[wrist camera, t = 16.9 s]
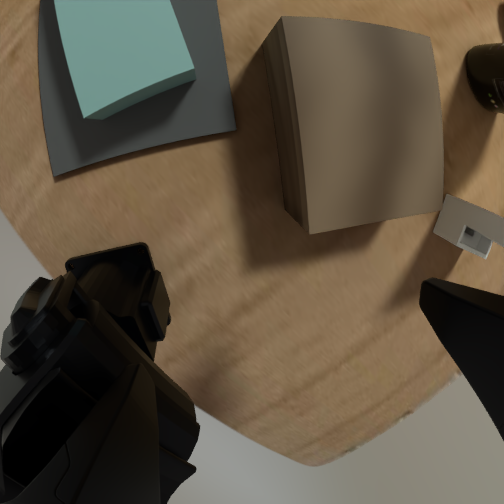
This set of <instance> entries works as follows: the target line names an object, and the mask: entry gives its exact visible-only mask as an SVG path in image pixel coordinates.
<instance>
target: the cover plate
mask: <svg viewBox="0 0 504 504" xmlns="http://www.w3.org/2000/svg"><path fill="white" fill-rule="evenodd" d="M54 3H55V9H56V14H57V20H58V25H59V30H60V34H61V39H62V43H63V48H64V52H65V56H66V60H67V64H68V67H69V71H70V75H71V78H72V82H73V85H74V89H75V92H76V95H77V99H78V102H79V105H80V108H81V111H82V114H83V117H84V118H88V119H100V120H103V119H105V118H107V117H109V116H111V115H113V114H115V113H117V112H119V111H121V110H123V109H125V108H127V107H129V106H132V105H134V104H136V103H138V102H140V101H143V100H145V99H147V98H149V97H152V96H154V95H156V94H159V93H161V92H164V91H166V90H169V89H171V88H174V87H177V86H179V85H182V84H185V83H187V82H190V81H193V80H196V74H195V68H194V65H193V63H192V60H191V57H190V54H189V51H188V49H187V46H186V43H185V40H184V38H183V35H182V32H181V29H180V27H179V24H178V21H177V18H176V16H175V13H174V10H173V8H172V5H171V2H170V0H54Z"/></svg>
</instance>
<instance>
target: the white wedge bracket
mask: <svg viewBox="0 0 504 504" xmlns="http://www.w3.org/2000/svg"><path fill="white" fill-rule="evenodd" d="M433 233H435V234H436V235H438V236H440V237H442V238H443V239H445V240H447V241H449V242H450V243H452V244H454V245H455V246H457V247H460V248H462V249H464V250H467V251H469V252H471V253H473V254H476V255H478V256H480V257H482V258H484V259H486V258H487V256H488V253H489V251H490V248H491V246H492V243H493V241H494V242H495V243H497V244H499V245H501V246H502V247H504V218H503V217H501V216H499V215H497V214H495V213H492V212H490V211H488V210H486V209H483V208H481V207H479V206H476V205H474V204H472V203H469V202H467V201H464V200H462V199H459V198H457V197H454V196H452V195H449V194H446V197H445V200H444V203H443V205H442V210H441V211H440V214H439V217H438V219H437V222H436V225H435V227H434V230H433Z"/></svg>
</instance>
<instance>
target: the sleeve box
mask: <svg viewBox="0 0 504 504" xmlns="http://www.w3.org/2000/svg"><path fill="white" fill-rule="evenodd" d="M262 46H263V51H264V57H265V64H266V70H267V76H268V83H269V89H270V96H271V103H272V110H273V117H274V124H275V131H276V139H277V146H278V154H279V162H280V170H281V178H282V187H283V196H284V205H285V210H286V211H287V212H288V213H289V214H290V215H291V216H292V217H293V218H294V219H295V220H296V221H297V222H298V223H299V224H300V225H301V226H302V227H303V228H304V229H305V230H306V231H307V232H308V233H309V234H315V233H320V232H326V231H331V230H337V229H342V228H347V227H353V226H358V225H364V224H369V223H375V222H380V221H386V220H391V219H397V218H402V217H408V216H413V215H419V214H424V213H430V212H436V211H441V210H442V205H443V183H444V147H443V126H442V112H441V102H440V93H439V85H438V78H437V71H436V65H435V60H434V54H433V49H432V45H431V40H430V37H428V36H425V35H421V34H418V33H414V32H410V31H406V30H401V29H397V28H392V27H387V26H382V25H377V24H371V23H364V22H358V21H350V20H341V19H331V18H318V17H292V16H281V18H280V19H279V20H278V22H277V23H276V25H275V26H274V27H273V29H272V30H271V32H270V33H269V34H268V36H267V37H266V39H265V40H264V42H263V43H262Z"/></svg>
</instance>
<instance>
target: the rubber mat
mask: <svg viewBox="0 0 504 504" xmlns="http://www.w3.org/2000/svg"><path fill="white" fill-rule="evenodd" d="M170 2H171V5H172V8H173V10H174V13H175V16H176V18H177V21H178V24H179V27H180V29H181V32H182V35H183V38H184V40H185V43H186V46H187V49H188V51H189V54H190V57H191V60H192V63H193V65H194V68H195V74H196V80H193V81H190V82H187V83H185V84H182V85H179V86H177V87H174V88H171V89H169V90H166V91H164V92H161V93H159V94H156V95H154V96H152V97H149V98H147V99H145V100H143V101H140V102H138V103H136V104H134V105H132V106H129V107H127V108H125V109H123V110H121V111H119V112H117V113H115V114H113V115H111V116H109V117H107V118H105V119H103V120H100V119H88V118H84V117H83V114H82V111H81V108H80V105H79V102H78V99H77V95H76V92H75V89H74V85H73V82H72V78H71V75H70V71H69V67H68V64H67V60H66V56H65V52H64V48H63V43H62V39H61V34H60V30H59V25H58V20H57V14H56V9H55V3H54V0H41V1H40V13H39V34H38V60H39V81H40V94H41V104H42V113H43V121H44V128H45V134H46V141H47V146H48V152H49V157H50V162H51V167H52V171H53V176H54V177H55V176H57V175H60V174H63V173H65V172H68V171H71V170H74V169H77V168H80V167H83V166H86V165H89V164H92V163H95V162H99V161H102V160H105V159H108V158H112V157H115V156H119V155H122V154H126V153H130V152H133V151H137V150H141V149H145V148H149V147H153V146H157V145H161V144H166V143H170V142H175V141H179V140H184V139H189V138H194V137H199V136H205V135H210V134H216V133H222V132H228V131H234V130H236V123H235V117H234V110H233V104H232V97H231V91H230V84H229V78H228V71H227V65H226V58H225V52H224V45H223V39H222V32H221V26H220V19H219V13H218V7H217V0H170Z"/></svg>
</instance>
